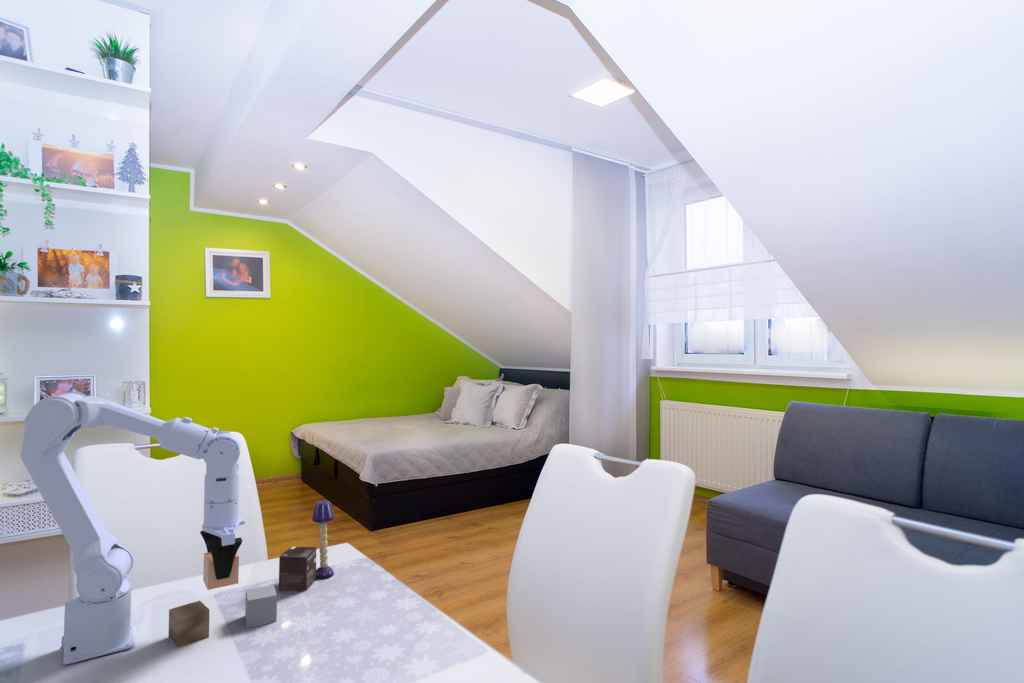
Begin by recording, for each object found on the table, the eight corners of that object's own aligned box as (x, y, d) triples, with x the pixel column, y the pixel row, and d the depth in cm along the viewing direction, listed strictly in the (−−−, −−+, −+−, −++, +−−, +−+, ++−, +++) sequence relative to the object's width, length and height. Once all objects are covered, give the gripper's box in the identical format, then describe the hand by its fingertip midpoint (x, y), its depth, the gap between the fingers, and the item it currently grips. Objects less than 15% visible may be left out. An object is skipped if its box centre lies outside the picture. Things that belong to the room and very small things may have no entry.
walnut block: (177, 648, 96) (178, 619, 96) (168, 637, 100) (169, 609, 100) (208, 637, 100) (209, 609, 100) (199, 627, 103) (199, 600, 103)
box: (306, 591, 119) (306, 557, 119) (277, 591, 119) (278, 556, 119) (316, 579, 125) (317, 546, 125) (289, 579, 125) (290, 546, 125)
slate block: (247, 627, 104) (247, 600, 104) (245, 616, 108) (245, 590, 108) (276, 621, 106) (276, 595, 106) (273, 610, 110) (273, 584, 111)
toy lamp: (313, 581, 124) (314, 505, 124) (309, 573, 128) (311, 500, 128) (335, 577, 126) (336, 502, 126) (331, 569, 130) (332, 497, 130)
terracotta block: (207, 590, 100) (208, 561, 100) (203, 580, 104) (203, 553, 104) (238, 583, 103) (238, 556, 103) (232, 574, 107) (233, 547, 107)
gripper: (254, 505, 100) (252, 581, 100) (237, 487, 112) (235, 555, 112) (209, 511, 96) (208, 591, 96) (196, 492, 108) (195, 563, 108)
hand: (220, 572), depth 104 cm, fingers closed on terracotta block, 5 cm apart
